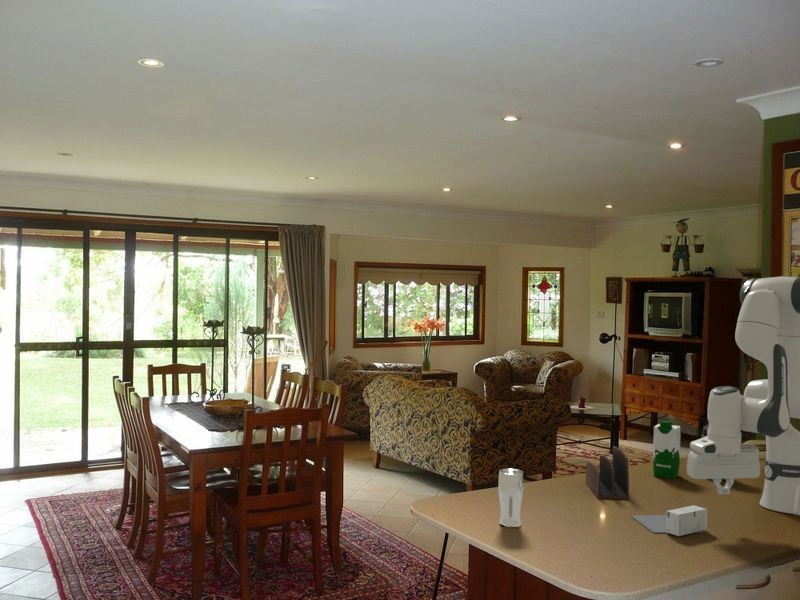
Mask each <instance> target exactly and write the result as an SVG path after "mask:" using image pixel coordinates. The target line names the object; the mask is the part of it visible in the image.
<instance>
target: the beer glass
mask: <svg viewBox="0 0 800 600" xmlns="http://www.w3.org/2000/svg"><path fill="white" fill-rule="evenodd" d="M498 472H499V473H498V483H497V489H498V490H497V491H498V492H497V493H498V499H499V506H500V518H499V522H498V524H499V523H500V524H502V525H504V526H509V527H516V526H520V525H521V526H522V521H521V516H520V515H521V506H522V501H523V500H522V499H523V495H524V472H523V470H520V469H515V468H502V469H499V470H498ZM521 526H520V527H521Z"/></svg>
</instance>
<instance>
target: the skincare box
mask: <svg viewBox="0 0 800 600" xmlns="http://www.w3.org/2000/svg"><path fill="white" fill-rule="evenodd" d="M665 512H666V514H665V515H666V532H667V533H666V534H671V535H674V536H676V537H681V536H685V535H690V534H694V532H698V533H700V532H699V531H703V530H705V531H706V530H707V528H708V527H707V525H708V509H707V508H705V507H701V506H698V505H695V504H693V505H689V506H683V507H679V508H674V509H669V510H666V511H665Z"/></svg>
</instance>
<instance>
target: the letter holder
mask: <svg viewBox="0 0 800 600" xmlns="http://www.w3.org/2000/svg"><path fill="white" fill-rule="evenodd" d="M611 452H612V462H611V460H610V459H609V458H608V457H607V456H606V455H605V454H600V455H599V470H598V467H597V466H595V464H594V463H593V462H592V461H589V460H587V461H586V470H585V484H586V485H587V486H588V487H589V489H590V491H591V492H592V493H593V494H594V496H595V497H596V498H597V499H599V500H623V501H624V500H627V501H628V500H630V473H629V471H630V470H629V458H628V457H627V455H626V454H625V452H624V451H623V450H622V449H620V448H619V447H617V446H614V445H613V446H612V451H611Z"/></svg>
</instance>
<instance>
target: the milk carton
mask: <svg viewBox="0 0 800 600" xmlns="http://www.w3.org/2000/svg"><path fill="white" fill-rule="evenodd" d="M681 436H682V435H681V425H673V422H672V421H671V420H665V419H664V420H660V421H659V423H658V424H656V425H654V427H653V443H652V445H653V446H652V447H653V448H652V449H653V451H652V452H653V453H652V467H653V469H652V470H653V477H655V478H663V479H668V480H669V479H670V480H675V479H676V478H677V477H678V476H679V473H680V465H681V464H680V462H681Z"/></svg>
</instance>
